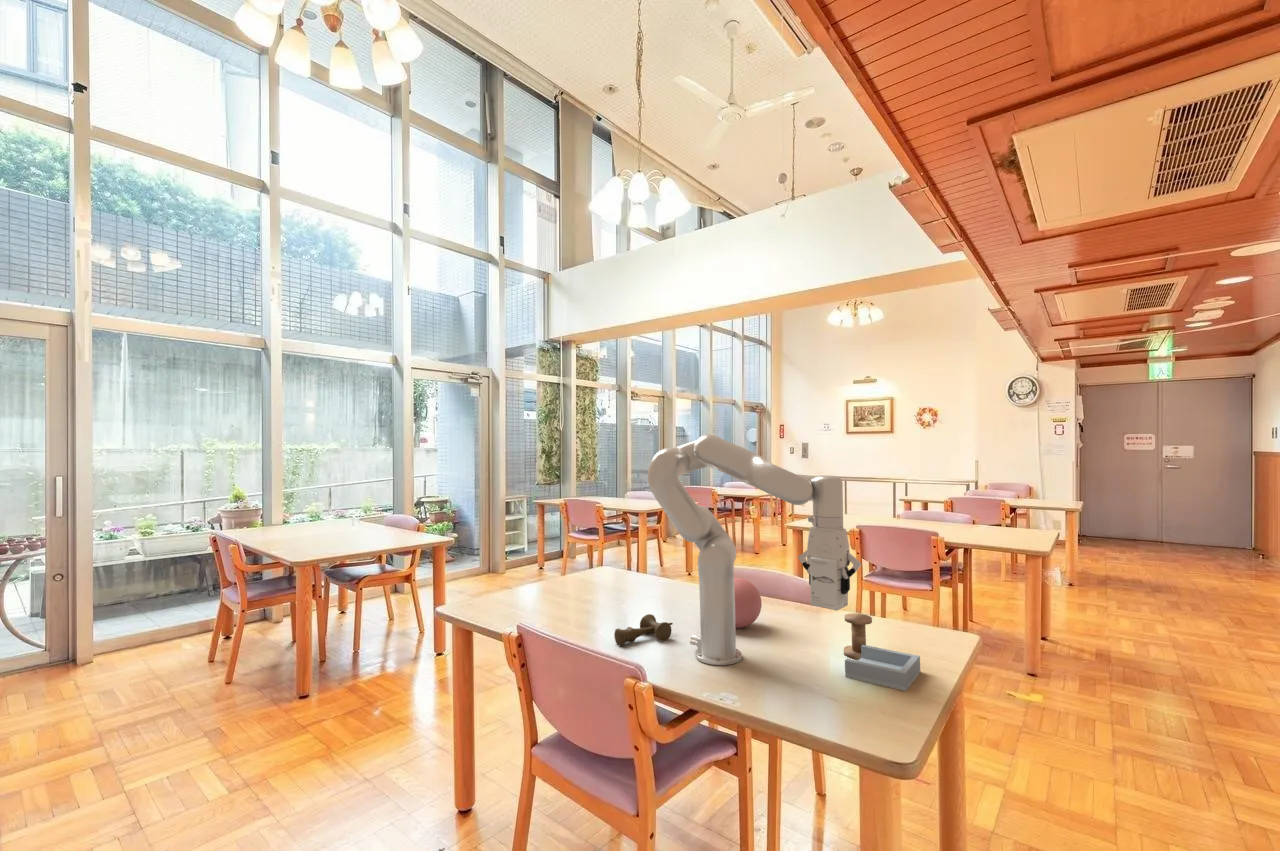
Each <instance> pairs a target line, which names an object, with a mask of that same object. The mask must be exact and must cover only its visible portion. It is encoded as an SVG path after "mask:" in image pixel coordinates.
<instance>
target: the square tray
mask: <svg viewBox="0 0 1280 851" xmlns="http://www.w3.org/2000/svg"><path fill="white" fill-rule="evenodd" d="M920 673H921V655H918V654H911V653H907V652H902V651H899V650H898V651H897V650H893V649H887V648H882V647H877V646H871V645H867V644H866V645H862V646H861V659H859V660H855V659H851V658H846V659H844V676H845V678H849V679H853V680H858V681H861V682H865V681H866V683H870V684H875V685H879V686H883V687H887V688H890V689H891V688H892V689H896V690H899V691H904V692H907V690H908V689H909V687H910V686H911V685H912V684H913V683H914V681H915V680H916V679H917V677H919V675H920Z"/></svg>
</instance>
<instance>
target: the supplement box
mask: <svg viewBox="0 0 1280 851" xmlns="http://www.w3.org/2000/svg"><path fill="white" fill-rule="evenodd" d="M848 566H849V565H848ZM848 566H847V567H848ZM810 578H811V585H810V606H811V607H818V608H822V609H827V610H833V611H835V612H837V611H839V610H842V609H844V608H845V607H847V606H848V605H849V597H848V596H849V592H848V593H846V594H842V593H841V579H842V578H843V575H842V574H841V569H838V561H836V560H829V559H821V558H813V557H811V558H810Z"/></svg>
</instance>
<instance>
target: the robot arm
mask: <svg viewBox="0 0 1280 851" xmlns="http://www.w3.org/2000/svg"><path fill="white" fill-rule="evenodd" d="M707 467H709V468H712V469H714V470H717V471H718V472H721V473H722V474H726V475H728V476H730V477H731V478H733V479H735V480H736V479H737V480H738V481H741V482H742V483H744V484H747V485H749V486H751V487H754V488H756V489H759V490H760V491H762V492H764V493H767V494H768V495H771V496H773V497H775V498H777V499H779V500H782V501H784V502H787V503H789V504H791V505H795V506H802V505H804V504H806V503H809V502H811V501H812V515H811V516H809V517H808V519H807V521H808V522H809V523H812V524H811V525H812V526H811V527H809V531H808V535H807V536H808V537H807V538H808V539H807V546H806V548H807V549H806V550H805V551H804V552H802V554H799V555H798V556H797V559H798V560H799V561H800V563H801V564H802V567H803V568H804V569H805V571H806V572H807V574H808V584H809V586H811V578H810V558H811V557H813V558H821V559H829V560H836V561H838V569H841V574H842V575H843V578H842V579H841V593H842V594H846V593H848V594H849V591H850V590H851V582H850V581H851V577H852V576H853V575H854V574H855V573H856V572H857V571H858V570H859V569H860V568H861V567H862V563H861V561H860V560H858V559H857V558H856V557H854V555H853V554H851V551H850V543H849V539H848V538H849V537H848V533H847V529H846V528H845V527H844V499H843V498H844V490H843V489H844V488H843V487H844V486H843V485H844V484H843V479H842V478H841V477H840V476H837V475H816V476H814V475H806V474H805V475H804V474H800V473H799V474H797V473H794V472H792V471H790V470H788V469H785V468H783V467H780V466H778V465H776V464H774V463H772V462H769V461H768V460H767V459H765V458H764V457H762V456H761V455H759V454H757V453H756V452H754V451H751V450H749V449H747V448H744V447H742V446H740V445H737V444H735V443H733V442H731V441H729V440H726V439H723V438H721V437H720V436H718V435H716V434H709V433H708V434H707V433H706V434H703V435H701V436H699V437H698V438H697V440H693V441H690V442H688V443H685V444H681V445H679V446H676V447H665V448H662V449H660V450H659V451H658V452H656V453H655V454H654V456H653V458H652V459H651V461H650V463H649V466H648V470H647V481H648V485H649V486H648V487H649V489H650V491H651V494H652V495H653V497H654V498H655V500H656V501H657V503H658V504H659V506H660V507H661V508H662V510H663V511H664V513H665V515H666V516H667V517H668V519H669V520H670V521H671V523H672V524H673V526H674V528H675V529H676V530H677V532H678V534H679V536H681V538H683V539H684V540H685V541H687V542H689V543H694V544H695V546H696V547H697V548H698V550H699V553H698V556H697V572H698V583H699V615H700V617H699V618H700V620H699V621H700V623H699V624H700V636H698V635H695V634H692V635H691V636H690V640H689V644H690V645H692V646H696V647H697V648H696V649H695V650H696V651H695V654H694V656H695V658H696V660H697V661H700V662H701V663H704V664H707V665H711V666H712V665H713V666H728V665H734V664H737V663H739V662H740V661H741V660H742V658H743V653H742V651H741V650H740V649H738V648H737V640H736V638H737V635H736V632H737V631H736V629H737V628H735V590H734V578H735V574H734V573H735V572H734V571H735V569H734V568H735V562H736V558H737V553H738V552H737V548H736V547H737V546H736V545H735V543H734V541H733V539H732V538H731V537H730V535H729V534H728V533H727V531H726V530H725V528H723V526H722V524H721V523H720V522H719V520H718V519H717V518H716V517H715V515H714V514H713V513H712V511H710V509H708V508H707V507H705V506H704V505H699V504H697V503H696V502H695V500H694V499H693V498H692V497H691V494H690V493H689V491H688V490H687V489H686V487H685V486H684V485H683V484H682V483H681V482H680V479H679V477H681V476H684V475H687V474H690V473H693V472H695V471H698V470H701V469H704V468H707ZM850 564H852V567H851V568H850V569H849V568H848V567H847V566H850Z"/></svg>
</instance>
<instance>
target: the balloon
mask: <svg viewBox="0 0 1280 851" xmlns="http://www.w3.org/2000/svg"><path fill="white" fill-rule="evenodd" d="M734 590H735V628H736V629H742V628H743V629H744V628H746V627H749V626H751V625H752V624H754V623H755V621H756V620H757V619H758V618H759V616H760V615H761V611H762V604H763V603H762V598H761V594H760V592H759V590H758V589H757V587H756V585H754V584H753V583H752V582H750V580H748V579H745V578H743V577H734Z"/></svg>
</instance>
